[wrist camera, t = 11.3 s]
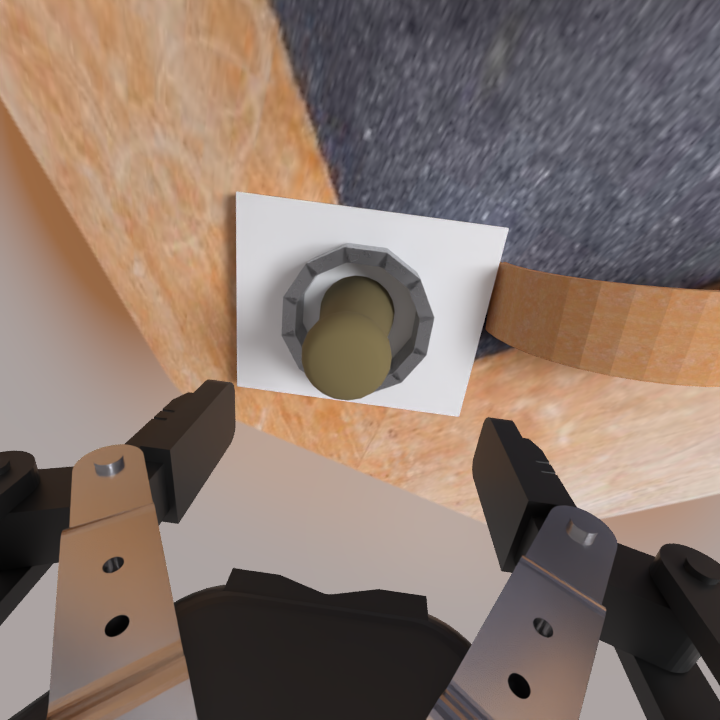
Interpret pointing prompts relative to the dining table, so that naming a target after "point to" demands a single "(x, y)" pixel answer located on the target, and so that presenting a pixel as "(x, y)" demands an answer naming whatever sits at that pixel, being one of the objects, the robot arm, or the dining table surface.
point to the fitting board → (373, 228)
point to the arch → (609, 326)
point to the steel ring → (370, 256)
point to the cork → (350, 339)
